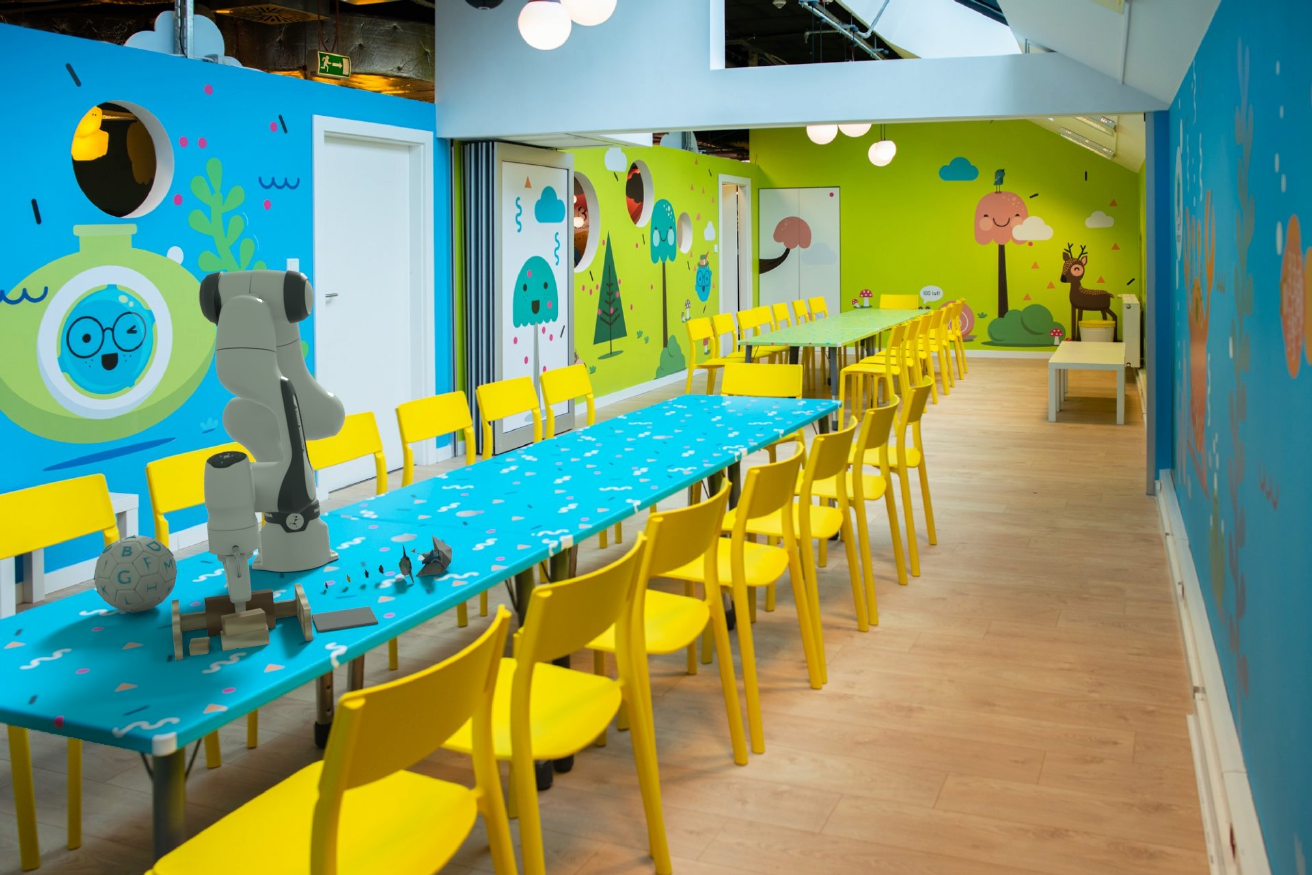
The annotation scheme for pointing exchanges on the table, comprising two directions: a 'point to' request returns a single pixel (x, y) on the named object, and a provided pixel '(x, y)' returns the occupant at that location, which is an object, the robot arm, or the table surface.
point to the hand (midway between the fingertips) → (240, 611)
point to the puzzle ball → (135, 573)
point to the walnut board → (224, 606)
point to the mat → (344, 619)
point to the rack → (281, 609)
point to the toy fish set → (406, 565)
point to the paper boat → (445, 559)
